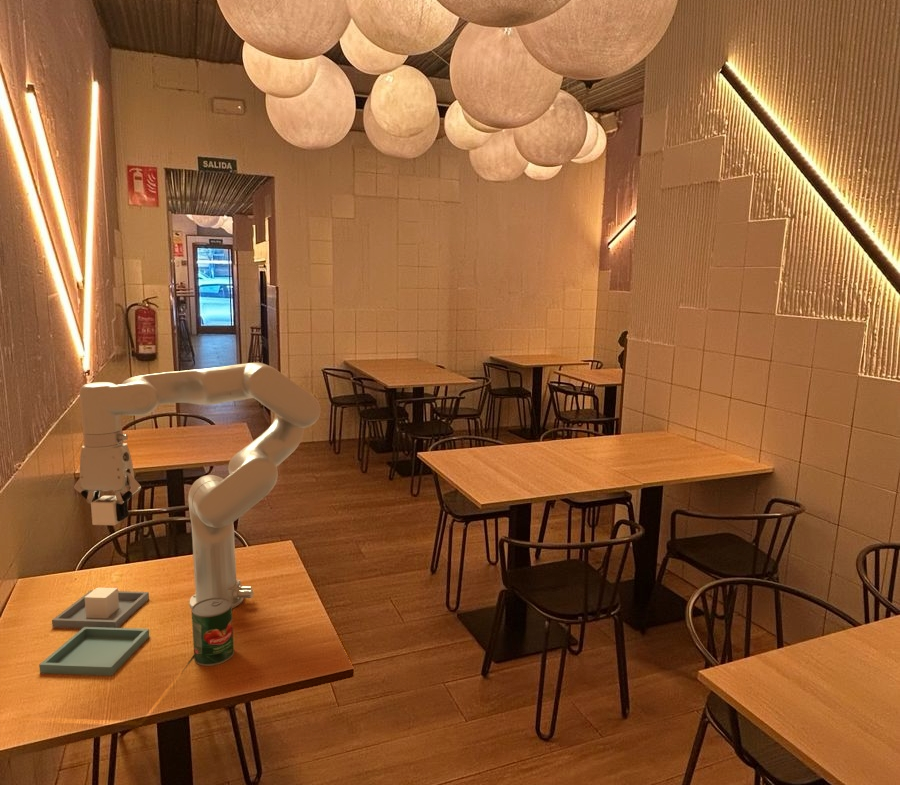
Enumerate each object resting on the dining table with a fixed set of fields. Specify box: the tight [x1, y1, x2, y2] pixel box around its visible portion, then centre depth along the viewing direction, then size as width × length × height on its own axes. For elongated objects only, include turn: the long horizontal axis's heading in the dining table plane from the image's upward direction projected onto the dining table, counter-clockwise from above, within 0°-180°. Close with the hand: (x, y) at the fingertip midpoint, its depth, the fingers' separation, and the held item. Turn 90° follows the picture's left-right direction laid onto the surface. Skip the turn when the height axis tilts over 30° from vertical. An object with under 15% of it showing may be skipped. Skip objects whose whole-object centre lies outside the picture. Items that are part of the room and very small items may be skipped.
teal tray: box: [39, 627, 150, 677], centre depth 135 cm, size 15×15×2 cm
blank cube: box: [84, 587, 119, 618], centre depth 152 cm, size 5×5×5 cm
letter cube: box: [90, 495, 122, 526], centre depth 144 cm, size 5×5×5 cm
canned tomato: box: [190, 597, 235, 667], centre depth 135 cm, size 8×8×11 cm
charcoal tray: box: [51, 589, 150, 630], centre depth 152 cm, size 15×15×2 cm
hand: (109, 518), depth 144 cm, fingers closed on letter cube, 4 cm apart
